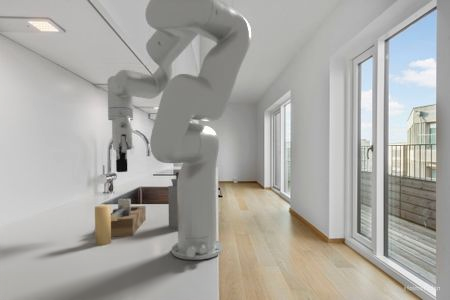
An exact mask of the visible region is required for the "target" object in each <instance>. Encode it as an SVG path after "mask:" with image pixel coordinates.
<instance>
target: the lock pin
mask: <svg viewBox="0 0 450 300" xmlns="http://www.w3.org/2000/svg"><path fill="white" fill-rule="evenodd" d="M117 204H118V205H117V209H119V210H118V211H117V212H115V213H114V214H112V215H111V221H118V220H119V219H120V218H121V217H123V216H124V215H125V209H126V208H130V212H131V206H132V205H131V204H132V200H131V198H119V199H117Z"/></svg>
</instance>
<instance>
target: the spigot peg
mask: <svg viewBox="0 0 450 300" xmlns="http://www.w3.org/2000/svg"><path fill="white" fill-rule="evenodd" d="M111 211H112V209H111V205H108V204H105V205H97V206H95V207H94V232H95V233H94V239H95V240H94V242H95V246H105V245H106V246H107V245H109V244H112V236H111V213H112V212H111Z"/></svg>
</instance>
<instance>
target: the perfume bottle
mask: <svg viewBox="0 0 450 300" xmlns="http://www.w3.org/2000/svg"><path fill="white" fill-rule="evenodd" d="M179 172H180V171H176V172H175V178H171V179H170V180H171V183H172V184H171V185H169V186H167V187H168V189H167V190H168V193H167V195H168V197H167V198H168V227H169V228H173V229H178V205H177V180H178V175H179Z"/></svg>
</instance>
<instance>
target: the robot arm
mask: <svg viewBox="0 0 450 300" xmlns="http://www.w3.org/2000/svg"><path fill="white" fill-rule="evenodd" d="M144 14H145V15H144V16H145V20H146V22H147V24H148V25H149V26H150V28H152V29H154V30H155V32H154V33H153V34H152V35H151V36H150V38H149V39H148V40H147V42H146V43H145V48H146V49H145V50H146V52H147V54H148V56H149V57H150V58H151V60H152V61H153V62H154V63H155V64H156V65H157V66H158V67H157V69H156V70H155V71H154V73H152V74H147V73H143V72H139V71H134V70H130V69H121V70H119V71H118V72H117V73H116V74H115V75H112V76H110V77H108V78H107V83H106V84H107V119H108V120H109V121H111V128H112V129H111V136H112V137H111V139H112V148H113V150H114V151H115V171H116V172H117V173H124V172H125V173H127V172H128V151H129V150H132V149H133V131H132V121H133V120H134V113H133V112H134V111H133V107H134V106H133V105H134V104H133V97H136V98H141V99H147V100H151V99H152V100H153V99H155V98H157V97H158V96H160V94H161V98H160V101H159V104H158V108H157V112H156V115H155V119H154V122H153V126H152V130H151V135H150V139H149V140H150V141H149V144H150V145H149V146H150V150H151V151H150V152H151V154H152V156H153V158H154V159H155V160H156V161H158V162H160V163H164V164H181V168H180V169H179V171H178V172H179V175H178V180H177V205H178V228H177V242H176V243H175V244H173V245H172V247H171V254H172V255H173V257H176V258H179V259H182V260H185V261H186V260H188V261H200V260H207V259H211V258H215V257H217V256H219V255H220V254H222V252H223V250H224V247H223V244H222V242H220V241H218V240H217V198H216V197H217V195H216V192H217V191H216V190H217V189H216V187H217V185H216V184H217V182H216V181H217V180H216V179H217V178H216V175H217V171H216V170H217V162H218V156H219V150H220V149H219V148H220V140H219V136H218V134H217V133H216V130H214V129H213V128H212V127H210V126H209V125H206V124H202V123H197V122H196V123H195V122H191V121H193V120H194V121H202V122H203V121H204V122H214V121H218V120H220V119H221V118H222V117H223V115H224V114H225V112H226V110H227V106H228V104H229V100H230V98H231V96H232V92H233V90H234V87H235V84H236V81H237V78H238V75H239V72H240V70H241V68H242V64H243V62H244V60H245V57H246V56H247V53H248V51H249V48H250V46H251V39H252V31H251V26H250V24H249V23H248V21H247V19H246V18H245V17H244V16H243V14H241V13H240V12H239V11H238V10H237V9H236V8H233V7H232V6H230V5H229V4H228V3H227V2H225V1H223V0H149V1H148V3H147V6H146V8H145V13H144ZM198 35H199V36H202V37H204V38H207V39H209V40H211V41H213V42H215V44H214V46H213V47H212V48H210V50H209V51H207V54H206V55H205V56H204V58H203V61H202V65H201V68H200V71H199V73H198V75H197V76H196V75H193V74H189V73H180V74H177V75H174V76H173V77H172V75H173V63H174V62H175V60H177V58H178V57H179V56H180V55H181V54H182V52H184V51H185V49H187V47H188V46H189V45H190V44H191V43H192V42H193V41H194V40H195V38H196V37H197V36H198Z"/></svg>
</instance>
